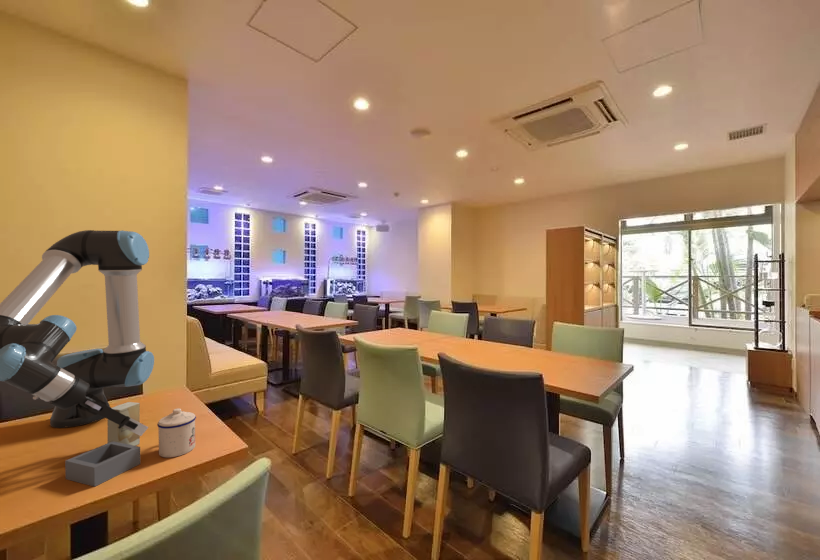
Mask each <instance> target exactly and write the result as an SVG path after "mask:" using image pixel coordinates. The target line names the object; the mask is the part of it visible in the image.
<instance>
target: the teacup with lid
mask: <svg viewBox="0 0 820 560" xmlns="http://www.w3.org/2000/svg"><path fill="white" fill-rule="evenodd" d="M196 419H197V416H196V414H195V413H193V412H191V411H190V412H189V411H182V409H181V408H174V409H173V410H172V412H171V413H169V414H168V415H166V416H164V417H162V418H160V419H159V420H158V422H157V427H158V455H159V456H160V457H162V458H175V457H179V456H183V455H185V454H188V453H190V452H192V451H193V450H194V449H195V447H196Z"/></svg>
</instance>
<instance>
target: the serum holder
mask: <svg viewBox="0 0 820 560" xmlns="http://www.w3.org/2000/svg"><path fill="white" fill-rule="evenodd" d="M64 463H65V466H64V467H65V471H64V472H65V480H69V481H73V482H75V483H80V484H84V485H88V486H91V487H94V488H95V487H97V486H99V485H100V484H101V485H102V484H103V483H104V482H107V481H108V480H112V479H113V478H116V477H117V476H119V475H121V474H123V473H125V472H127V471H129V470H131V469H134V468H135V467H136V466H137V467H138V466H139V465H141V446H138V445H136V446H134V445H129V444H124V443H119V442H114V441H112V442H109V443H105V444H102V445H100V446H98V447H95V448H93V449H91V450H87V451H85V452H83V453H80V454H77V455H75V456H73V457H71V458H69V459H65V461H64Z"/></svg>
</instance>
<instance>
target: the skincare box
mask: <svg viewBox="0 0 820 560" xmlns="http://www.w3.org/2000/svg"><path fill="white" fill-rule="evenodd" d="M140 404H141V403H140V402H133V401H127V402H125V403H122V404H121V403H120V404H117V405H116V406H113V407H111V408H112V409H114V410H116V411H117V412H119V413H121V414H123V415H125V416H128V417H130V418H132V419H134V420H136V421H138V422H140V414H141V413H140V409H141V408H140ZM140 423H141V422H140ZM118 427H119V425H118V424H116V423H114V422H113V421H111V420H109V419H107V443H109V442H112V441H114V442H119V443H124V444H129V445H134V446H138V445H140V443H141V442H140V441H141V440H140V438H141V436H139V435H137V434H135V433H133V432H131V431H129V430H127V429H125V428H123V427H121V428H120V429H119V428H118ZM107 443H106V444H107Z"/></svg>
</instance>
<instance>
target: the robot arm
mask: <svg viewBox="0 0 820 560" xmlns="http://www.w3.org/2000/svg"><path fill="white" fill-rule="evenodd" d="M149 259H150V250H149V245H148V243H147V241H146V240H145V238H144V237H143V235H141V234H140V233H138V232H135V231H129V230H94V229H93V230H91V229H86V230H81V231H79V230H78V231H76V232H73V233H71V234H68V235H66V236H65V237H63V238H61V239H59V240H57V241H55V243H54V244H52V245H51V246H50V247H48V248H47V249H46V250H45V251H44V252H43V253H42V255H41V261H40V262H39V264H38V265H36V266H35V267H34V268H33V269H32V270H31V272H29V273H28V275H27V276H26V277H25V278H24V279H23V280H21V282H19V284H18V285H17V286H16V287H15V288H14V289H13V290H12V291H10V292H9V294H8V295H7V296H6V297H5V298H4V299H3V300H2V301H1V302H0V382H4V383H6V384H8V385H10V386H12V387H14V388H16V389H19V390H21V391H23V392H25V393H27V394H30V395H32V396H33V397H32V399H33V400H34V401H35V400H38V399H40V400H42V401H44V402H45V403H46V402H49V404H50V405H52V406H54V408H53V410H52V413H51V415H50V419H49V421H50V427H52V428H57V429H58V428H59V429H61V428H62V429H63V428H72V427H78V426H83V425H88V424H91V423H93V422H94V423H95V422H97V421H100V420H102V419H107V420H108V419H109V420H111V421H113V422H114V423H116V424H118V425H119V427H118V428H119V429H120V428H121V427H123V428H125V429H127V430H129V431H131V432H133V433H135V434H137V435H139V436H140V437H142V436H143V434H145V432H146V431H147V430H148V429H149V426H147V425H145V424H143V423H141V422H138V421H136V420H134V419H132V418H130V417H128V416H125V415H123V414H121V413H119V412H117V411H116V410H114V409H112V407H111V406H110V403H109V401H108V400H107V397H106V395H105V393H104V388H114V387H115V388H119V387H127V388H129V387H134V386H141V385H142V384H144V383H145V382H146V381H147V380H148V379H149V378H150V376H151V374H152V372H153V370H154V365H155V356H154V353H153V352H152V351H149V350H147V348H146V347H147V346H146V344H144V342H142V341H141V335H140V333H141V332H140V329H141V328H140V313H139V311H140V310H139V309H140V308H139V293H138V291H139V290H138V274H139V273H140V272H141V271H142V270H143V266H144V265H146V264H147V263H148V262H149ZM90 265H92V266H97V269H98V270H97V271H98V272H99V273H101V274H102V275H103V276H104V285H105V288H104V289H105V290H104V291H105V305H106V319H107V320H106V321H107V322H106V323H107V339H108V345H107V346H106V347H105V348H104V349H102V348H92V349H87V350H82V351H76V352H72V353H68V354H65V355H62V356H60V357H59V358H58V359H57V361H56V363H54V362H53V361H54V360H55V359H56V357H58V355H59V354H60V353H61V352H62V351H63V349H64V348H65V347H66V346H67V344H68V343H70V341H71V339H72V338H73V336H74V335H75V333H76V332H77V325H76V323H75V322H74V320H72V319H70V318H69V317H67V316H64V315H59V314H52V315H49V316H46V317H44V318H43V319H41V320H40V321H39V323H33V324H32V323H30V322H32V320H33V319H34V318H35V316H36V315H37V314H38V313H39V312H40V311H41V310H42V309H43V307H44V306H45V305H46V304H47V303H48V302H49V300H50V299H51V298H52V296H53V295H54V294H55V293H56V292H57V291H58V290H59V288H60V287H62V285H63V284H65V282H66V280H67V279H68V278H69V277H70V276H71V275H72V274H75V273H78V272H79V271H80V270H81V269H82V268H83V267H87V266H90Z"/></svg>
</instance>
